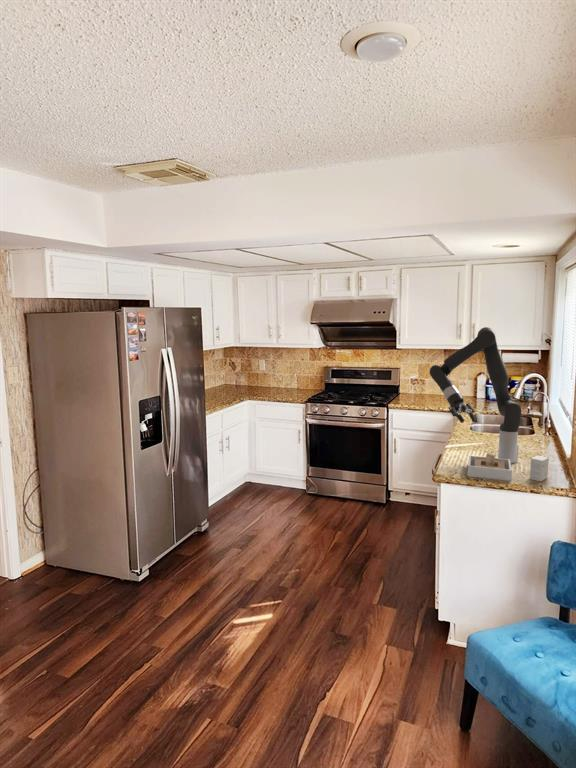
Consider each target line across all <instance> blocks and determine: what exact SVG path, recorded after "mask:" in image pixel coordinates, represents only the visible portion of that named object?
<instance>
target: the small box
mask: <svg viewBox="0 0 576 768" xmlns="http://www.w3.org/2000/svg"><path fill="white" fill-rule="evenodd" d="M529 469H530V470H529V480H531V481H532V480H533V481H536V482H540V481H541V482H542V481H545V480H546V479H547V478H548V470H549V457H547V456H541V455H535V456H533V457H531V458H530V468H529Z"/></svg>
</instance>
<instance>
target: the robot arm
mask: <svg viewBox="0 0 576 768" xmlns="http://www.w3.org/2000/svg"><path fill="white" fill-rule="evenodd" d="M481 351H483V355H484V358H485V359H484V360H485V366H486V370H487V374H488V377H489V381H490V382H491V386H492V388H493V392H494V395H495V401H496V404H497V409H498V413H499V414H500V415H501V416H502V417H504V418H503V423H501V424H499V435H498V438H499V439H498V453H497V458H501V459H510V462H511V464H515V463H517V461H518V459H519V449H520V448H519V447H520V446H519V444H518V438H519V437H518V436H519V428H520V426H521V421H522V420H521V419H522V407H521V405H520V404H519V403H518V402H515V401H513V400H512V398H511V395H510V393H509V380H510V379H509V374H508V371H507V368H506V364H505V363H504V360H503V357H502V355H501V353H500V351H499V347H498V343H497V335H496V332H495V330H494V329H492V328H490V327H487V326H485V327H482V328H480V330H478V333H477V335H476V337H475V338H474V339H473V340H472V341H471V342H469V343H468V344H467V345H466V346H464V347H462V348H460V349H458V350H456V351H455V352H453V353H452V354H451V355H449V356H448V357H447V358H445V359H444V361H443V364H442V365H441V366H440V365H437V364H433V365H432V366H431V367H430V368H429V376H430V377H431V378H432V380H433V382H435V383H436V384H437V386H438V387H439V389H440V390H441V392H442V394H443V395H444V398H445V399H446V401H447V403H448V404H449V406H448V409H449V412H450V413H451V415H452V417H456V418H457V419H458V421H459V422H460V423H461V424H462V423H464V422H465V419H464V417H463V416H462V414H461V413H463V414H466V415H468V416H469V418H470V419H471V421H472V422H474V421H476V420H477V417H476V416H475V415H474V413H475V412H476V410H475V409H474V407H473V406H472V405H471V404H470V402H467V403H465V402H464V397H463V396H462V394H461V392H459V390H458V388H457V387H456V386H455V385H454V383H453V382H452V380H451V379H450V378H449V377H448V376H449V375H450V374H451V373H452V372H453V370H454V369H456V368H457V367H459V366H460V365H461V364H463V363H464V362H466V361H467V360H468V359H469V358H471V357H473V356H474V355H476V354H478V353H479V352H481Z"/></svg>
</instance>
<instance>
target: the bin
mask: <svg viewBox="0 0 576 768" xmlns="http://www.w3.org/2000/svg"><path fill="white" fill-rule="evenodd" d="M512 472H513V468H512V463H511V462H510V459H501V458H498V457H495V462H494V466H486V456H480V455H479V456H478V455H476V456H475V455H469V456H468V465H467V476H466V477H467V478H475V477H478V478H477V479H485V480H496V481H504V482H512V476H513V475H512Z"/></svg>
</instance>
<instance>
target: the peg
mask: <svg viewBox="0 0 576 768" xmlns="http://www.w3.org/2000/svg"><path fill="white" fill-rule="evenodd" d="M485 457H486V466H494V462H495V458H496V454H493V453H487V454H486V456H485Z"/></svg>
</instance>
